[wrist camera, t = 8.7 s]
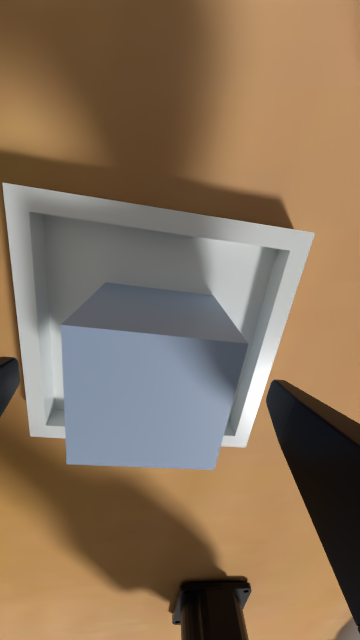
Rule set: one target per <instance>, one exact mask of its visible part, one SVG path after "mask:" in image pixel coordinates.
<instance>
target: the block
mask: <svg viewBox="0 0 360 640" xmlns="http://www.w3.org/2000/svg"><path fill="white" fill-rule="evenodd" d="M61 342H62V366H63V390H64V414H65V438H66V462H67V464H73V465H99V466H125V467H151V468H178V469H204V470H214V469H215V465H216V462H217V458H218V454H219V451H220V447H221V443H222V440H223V436H224V432H225V429H226V425H227V421H228V418H229V414H230V410H231V407H232V403H233V399H234V396H235V392H236V388H237V385H238V381H239V377H240V374H241V370H242V366H243V363H244V359H245V355H246V352H247V348H248V344H249V343H248V342H247V341H246V339H245V338H244V337H243V335H242V334H241V333H240V331H239V330H238V328H237V327H236V326H235V324H234V323H233V322H232V320H231V319H230V317H229V316H228V315H227V313H226V312H225V311H224V309H223V308H222V307H221V305H220V304H219V302H218V301H217V300H216V298H215V297H214V296H213V295H205V294H197V293H189V292H181V291H173V290H164V289H156V288H148V287H140V286H132V285H123V284H115V283H107V282H105V283H104V284H103V285H102V286H101V287H100V288H99V289H98V290H97V291H96V292H95V293H94V294H93V295H92V296H91V297H90V298H89V299H87V300H86V301H85V302H84V303H83V304H82V305H81V306H80V307H79V308H78V309H77V310H76V311H75V312H74V313H73V314H72V315H71V316H70V317H68V318H67V319H66V320H65V321H64V322H63V323H62V324H61Z"/></svg>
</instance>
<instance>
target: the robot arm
mask: <svg viewBox="0 0 360 640" xmlns="http://www.w3.org/2000/svg"><path fill="white" fill-rule="evenodd" d="M19 383H20V373H19V364H18V360H17V359H16V358H14V357H0V417H1V415H2V413H3V412H4V410H5V408H6V407H7V405H8V403H9V401H10V400H11V398H12V396H13V394H14V393H15V391H16V389H17V388H18V386H19ZM266 403H267V407H268V410H269V413H270V416H271V420H272V423H273V426H274V429H275V432H276V436H277V438H278V441H279V444H280V446H281V449H282V451H283V454H284V456H285V458H286V461H287V463H288V465H289V468H290V470H291V473H292V475H293V477H294V480H295V482H296V484H297V487H298V489H299V491H300V494H301V496H302V498H303V501H304V503H305V505H306V508H307V510H308V513H309V515H310V517H311V520H312V522H313V524H314V527H315V529H316V531H317V534H318V536H319V538H320V541H321V543H322V545H323V548H324V550H325V552H326V555H327V557H328V560H329V562H330V564H331V567H332V569H333V571H334V574H335V576H336V578H337V581H338V583H339V585H340V588H341V590H342V592H343V595H344V597H345V600H346V602H347V604H348V607H349V609H350V611H351V614H352V616H353V618H354V621H355V623H356V625H357V626H358V631H359V633H360V424H359V423H357V422H355V421H354V420H352V419H350V418H348V417H347V416H345V415H343V414H342V413H340V412H338V411H336V410H335V409H333V408H331V407H330V406H328V405H326V404H324V403H323V402H321V401H319V400H317V399H316V398H314V397H312V396H311V395H309V394H307V393H305V392H304V391H302V390H300V389H299V388H297V387H295V386H293V385H292V384H290V383H288V382H287V381H284V380H273V381H272V383H271V385H270V388H269V391H268V394H267V398H266ZM250 593H251V586H250V583H248V582H229V583H184V584H182V585H181V586H180V589H179V593H178V596H177V600H176V604H175V607H174V611H173V615H172V623H173V624H175V625H181V639H182V640H249V639H248V634H247V629H246V625H245V620H244V615H243V608H244V606H245V603H246V601H247V599H248V597H249V595H250Z"/></svg>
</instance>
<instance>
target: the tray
mask: <svg viewBox="0 0 360 640" xmlns="http://www.w3.org/2000/svg"><path fill="white" fill-rule="evenodd" d="M2 184H3V194H4V203H5V212H6V221H7V230H8V239H9V248H10V257H11V266H12V275H13V284H14V293H15V302H16V312H17V321H18V330H19V339H20V348H21V357H22V366H23V375H24V384H25V393H26V402H27V411H28V420H29V430H30V437H49V438H65V414H64V390H63V366H62V342H61V324H62V323H63V322H64V321H65V320H66V319H67V318H68V317H70V316H71V315H72V314H73V313H74V312H75V311H76V310H77V309H78V308H79V307H80V306H81V305H82V304H83V303H84V302H85V301H86V300H87V299H89V298H90V297H91V296H92V295H93V294H94V293H95V292H96V291H97V290H98V289H99V288H100V287H101V286H102V285H103V284H104V283H105V282H107V283H115V284H123V285H132V286H140V287H148V288H156V289H164V290H173V291H181V292H189V293H197V294H205V295H213V296H214V297H215V298H216V300H217V301H218V302H219V304H220V305H221V307H222V308H223V309H224V311H225V312H226V313H227V315H228V316H229V317H230V319H231V320H232V322H233V323H234V324H235V326H236V327H237V328H238V330H239V331H240V333H241V334H242V335H243V337H244V338H245V339H246V341H247V342H248V343H249V344H248V348H247V352H246V355H245V359H244V363H243V366H242V370H241V374H240V377H239V381H238V385H237V388H236V392H235V396H234V399H233V403H232V407H231V410H230V414H229V418H228V421H227V425H226V429H225V432H224V436H223V440H222V443H221V446H227V447H246V444H247V441H248V438H249V435H250V432H251V429H252V426H253V423H254V420H255V416H256V413H257V410H258V407H259V404H260V401H261V398H262V395H263V392H264V389H265V386H266V383H267V380H268V376H269V373H270V370H271V367H272V364H273V361H274V358H275V355H276V352H277V349H278V346H279V343H280V339H281V336H282V333H283V330H284V327H285V324H286V321H287V318H288V315H289V312H290V309H291V306H292V302H293V299H294V296H295V293H296V290H297V287H298V284H299V281H300V278H301V275H302V272H303V269H304V266H305V262H306V259H307V256H308V253H309V250H310V247H311V244H312V241H313V238H314V235H315V233H313V232H307V231H301V230H294V229H288V228H282V227H276V226H269V225H263V224H257V223H251V222H245V221H238V220H232V219H226V218H220V217H214V216H207V215H201V214H195V213H189V212H183V211H176V210H170V209H164V208H158V207H152V206H145V205H139V204H133V203H127V202H120V201H114V200H108V199H102V198H96V197H89V196H83V195H77V194H71V193H65V192H58V191H52V190H46V189H40V188H34V187H27V186H21V185H15V184H9V183H3V182H2Z"/></svg>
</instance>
